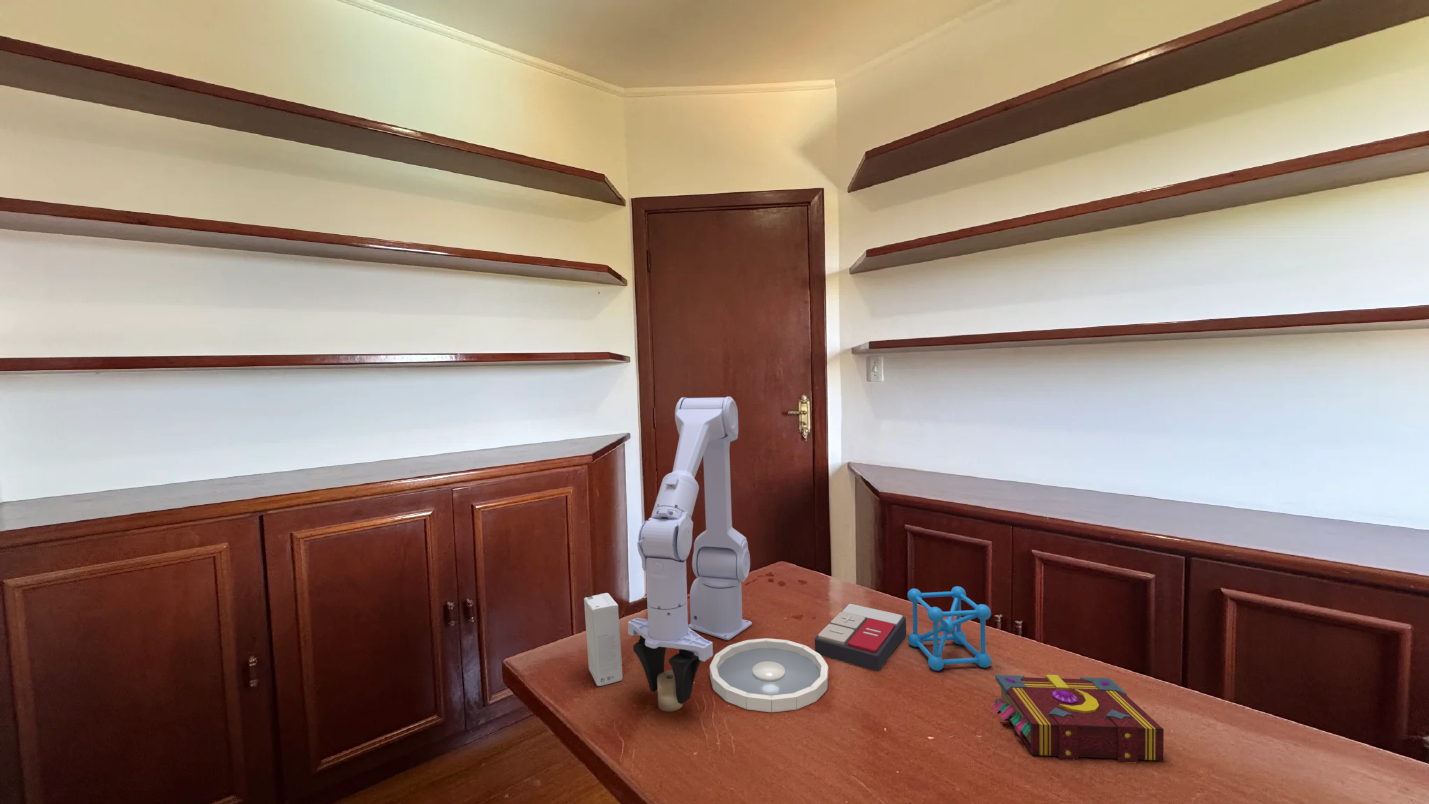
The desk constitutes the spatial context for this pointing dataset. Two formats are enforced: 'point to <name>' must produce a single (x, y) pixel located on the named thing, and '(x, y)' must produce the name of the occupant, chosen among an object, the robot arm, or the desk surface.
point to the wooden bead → (667, 692)
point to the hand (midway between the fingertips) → (670, 694)
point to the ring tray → (769, 675)
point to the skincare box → (603, 639)
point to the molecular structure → (949, 628)
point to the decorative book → (1078, 718)
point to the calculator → (861, 636)
